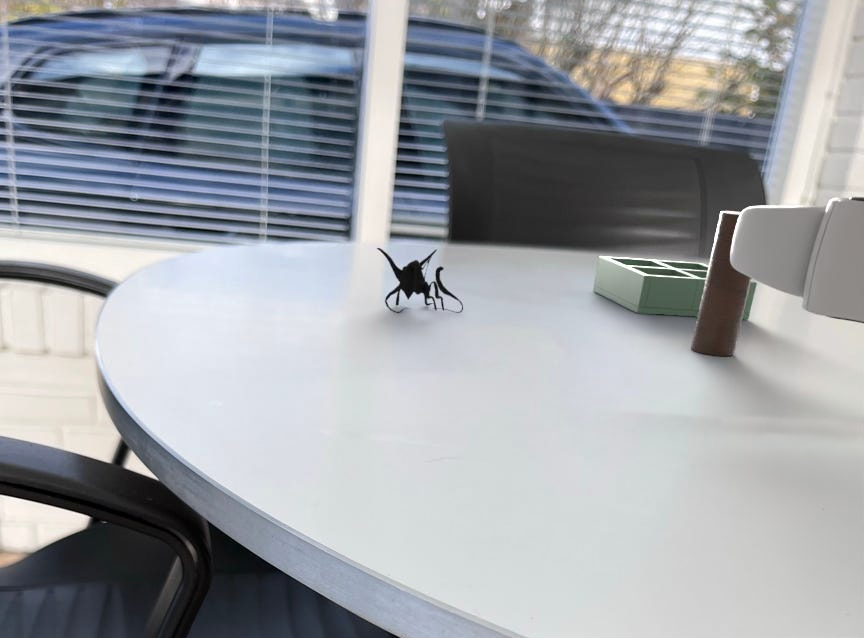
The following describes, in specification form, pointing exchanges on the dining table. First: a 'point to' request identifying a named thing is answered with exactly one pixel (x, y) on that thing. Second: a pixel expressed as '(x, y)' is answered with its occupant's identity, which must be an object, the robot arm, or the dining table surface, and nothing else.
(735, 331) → the brown cylinder
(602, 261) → the grid
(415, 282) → the creature
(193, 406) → the dining table surface
